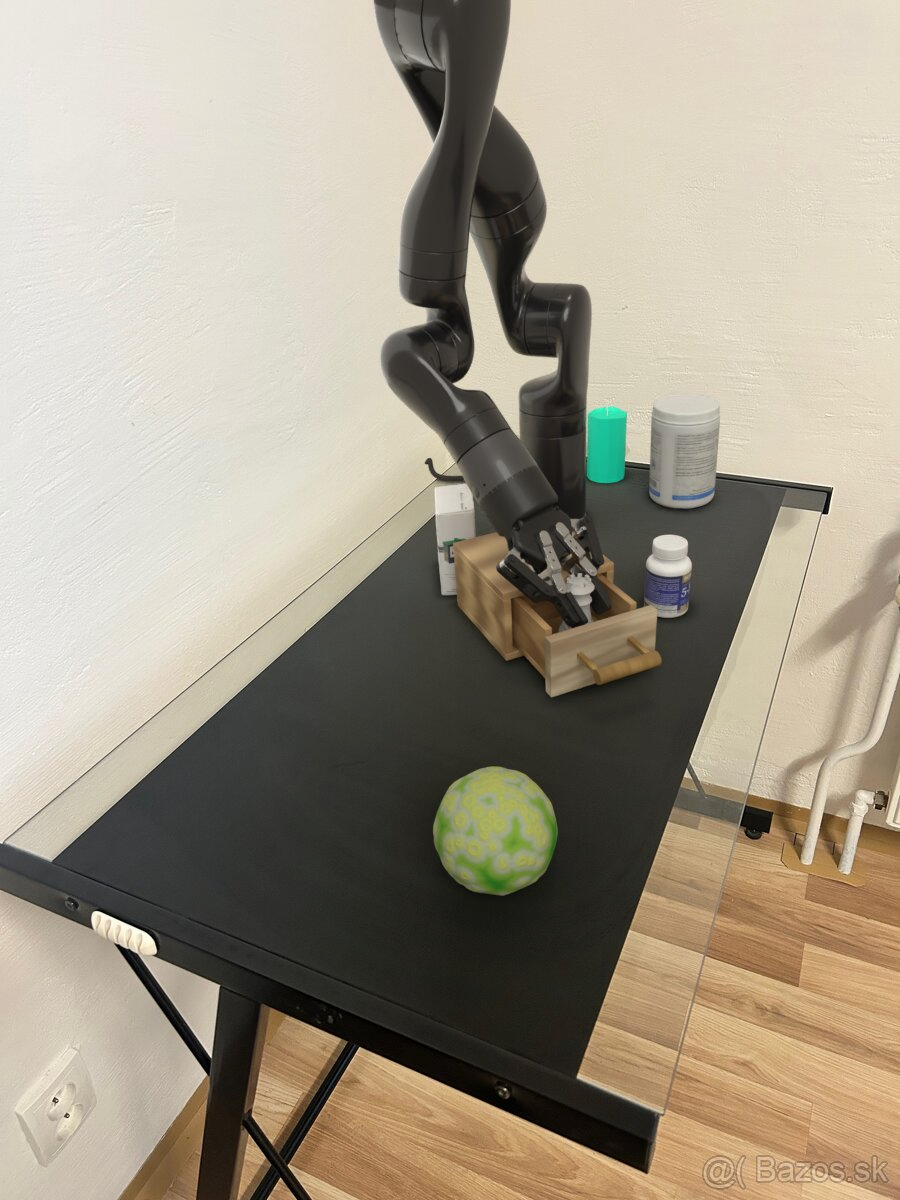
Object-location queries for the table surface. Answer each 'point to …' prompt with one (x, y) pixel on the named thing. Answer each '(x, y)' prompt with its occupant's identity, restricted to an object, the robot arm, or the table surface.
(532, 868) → the decorative ball
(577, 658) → the drawer
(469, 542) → the cabinet
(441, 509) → the ink box
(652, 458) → the supplement tub
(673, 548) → the pill bottle
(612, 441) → the candle
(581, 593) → the rook chess piece
